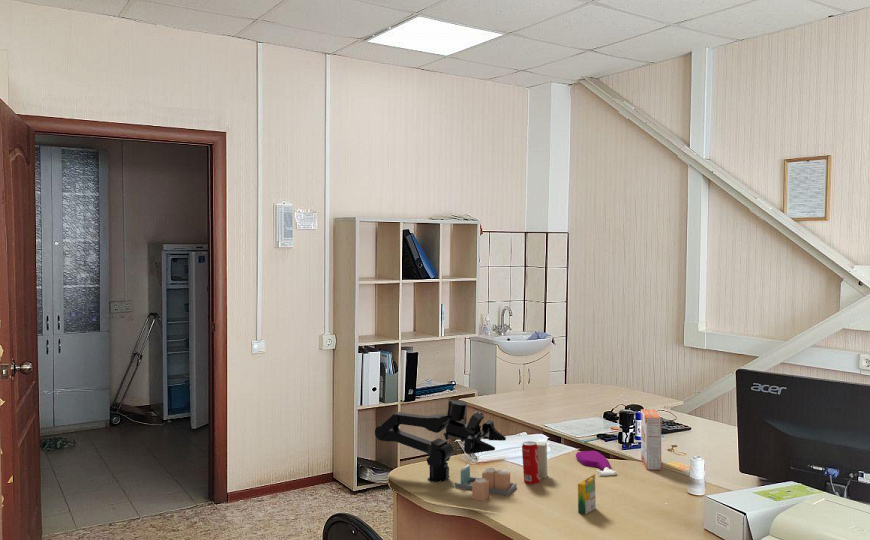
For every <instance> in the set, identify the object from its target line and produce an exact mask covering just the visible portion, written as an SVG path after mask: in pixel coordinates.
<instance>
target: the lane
mask: <svg viewBox="0 0 870 540" xmlns="http://www.w3.org/2000/svg"><path fill="white" fill-rule="evenodd" d="M477 478H478V477H473V476H470V480H469V481H468V482H466V483H465V484H462V483H461V482H455V483H454V488H457V489H463V490H470V491H472V483H473V482H474V481H475V479H477ZM516 489H517V483H516V482H510V488H509V489H508V490H502V489H495V488H489V494H497V495H502V496H510V495H511V494H512V493H513V492H514V491H515V490H516Z"/></svg>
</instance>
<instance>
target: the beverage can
mask: <svg viewBox="0 0 870 540" xmlns="http://www.w3.org/2000/svg"><path fill="white" fill-rule="evenodd" d="M536 442H537V441H525V442H522V444H521V445H522V446H521V453H522V468H523V469H522V470H523V482H524V484H527V485H534V486H535V485H538V484H540V482H541V480H540V479H541V478H540V477H539V462H538V447H537V444H536Z"/></svg>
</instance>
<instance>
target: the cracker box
mask: <svg viewBox="0 0 870 540" xmlns="http://www.w3.org/2000/svg"><path fill="white" fill-rule="evenodd" d="M640 439H641V440H640V445H641V447H640V449H641V451H640V452H641V453H640V454H641V457H640V459H641V461H642V462H643V464H644V466H645V469H646V470H647V471H662V417H661V416H660V415H659V414H658V412H657V411H656V409H651V408H649V409H647V408H646V409H645V408H641V409H640Z"/></svg>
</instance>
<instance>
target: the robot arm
mask: <svg viewBox="0 0 870 540" xmlns="http://www.w3.org/2000/svg"><path fill="white" fill-rule="evenodd" d="M467 406H468V403H467V402H466V401H464V400H458V399H457V400H454V399H450V400H448V408H447V413H446V414H443V413H440V414H432V415H424V414H423V415H422V414H421V415H420V414H413V413H406V412H401V411H399V412H398V411H397V412H396V413H393V414H391V416H389V418H388V419H387V420H386V421H384V422H383V423H382V424H380V425H378V426H377V427H376V428H375V429H374V435H375V437H376V439H377V440H378V441H380V442H387V443H389V442H390V443H391V442H395V443H398V444H400V445H403V446H406V447H409V448H412V449H415V450H417V451H420V452H423V453H426V455H428V458H426V463H427V466H429V477H427V481H431V482H438V483H439V482H445V481H447V480H448V479H449V478H450V477H451V476H450V467H449V461H450V459H451V457H452V456H453V455H454V447H453V445H452V444H451V443H449V441H448V440H450V439H452V437H454V438H457V439H460V442H461V443H464V444H463V452H464V453H465V454H466V455H469V456H471V455H474V454H479V453H485V452H493V451H495V450H496V447H495V446H494V445H491V444H489V443H487V442H485V441H482V439H484V440H488V441H504V442H505V441H506V440H507V438H506V436H505V435H503V434H502V433H501V432H500V431H498V430H497V429H496V428H495V423H494V421H493V420H491V419H488V420H487V421H485V422H484V423H482V421H483V419H484V417H485V416H484V415H483V412H481V411H478V410H477V411H474V413H473V414H472V415H471V417H470V418H469V420H468V422H467V423H463V422H462V420H464V419H466V411H467ZM481 423H482V425H481ZM401 425H405V426H410V427H411V426H412V427H419V428H424V429H426V430H427V431H430V432H432V433H436V434H438V433H441V432H442V431H444V430H445V432H444V433H443V436H444V439H445V440H443V439H442V438H439V437H438V438H436V439H434V440H432V441H431V440H429V439H425V438H423V437H420V436H418V435H417V436H416V435H414V434H411V433H409V432H406V431H403V430H401V429H400V428H399V427H400V426H401Z"/></svg>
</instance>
